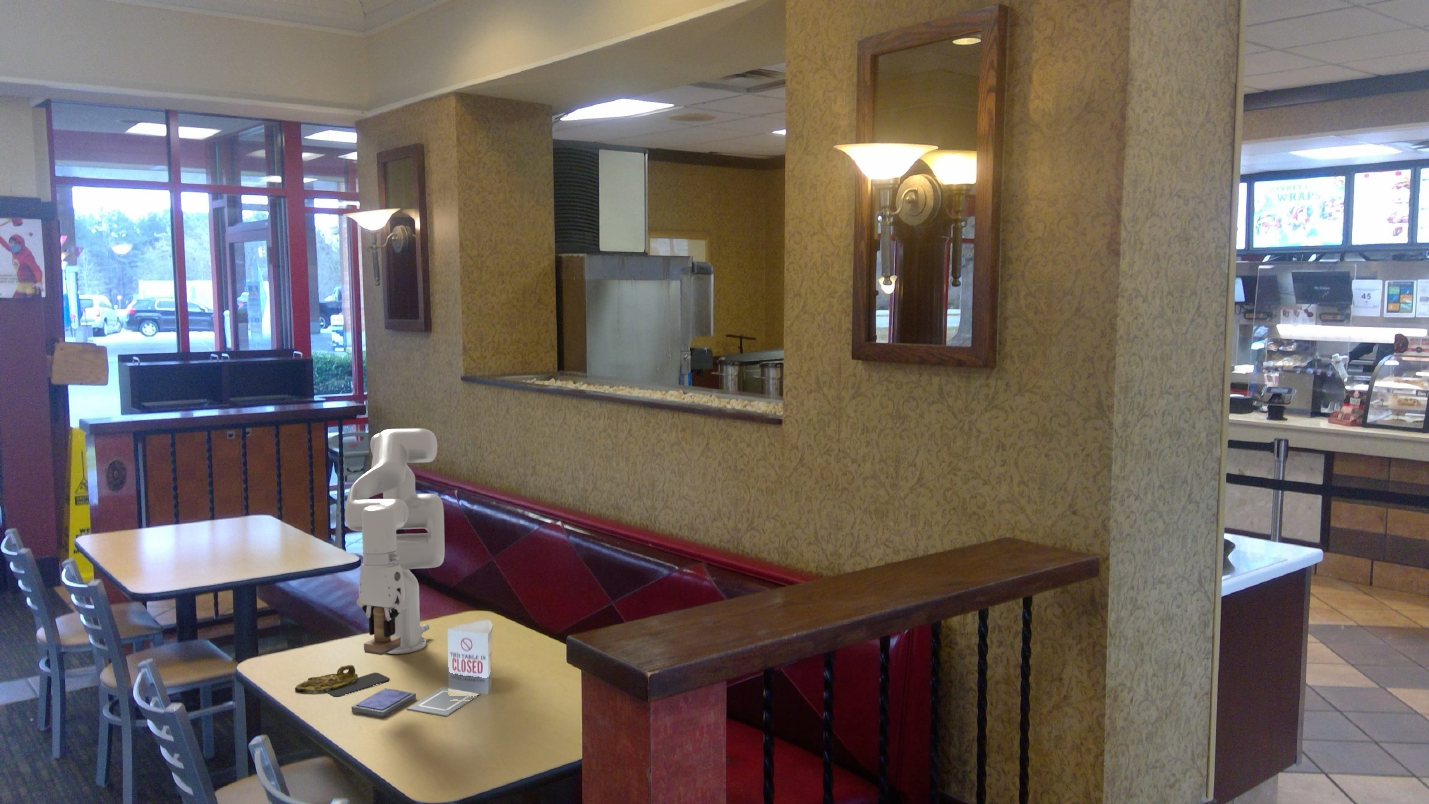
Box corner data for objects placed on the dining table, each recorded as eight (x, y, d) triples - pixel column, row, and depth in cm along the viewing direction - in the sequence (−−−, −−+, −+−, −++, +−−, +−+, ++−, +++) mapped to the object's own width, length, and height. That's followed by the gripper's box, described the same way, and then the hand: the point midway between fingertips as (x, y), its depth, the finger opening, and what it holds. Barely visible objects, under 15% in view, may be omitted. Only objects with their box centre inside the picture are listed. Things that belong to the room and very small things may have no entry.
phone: (320, 689, 248) (376, 671, 259) (320, 692, 248) (376, 674, 260) (335, 697, 243) (391, 678, 255) (336, 700, 243) (391, 682, 255)
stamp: (383, 643, 242) (382, 597, 241) (401, 645, 240) (399, 599, 239) (364, 652, 235) (362, 605, 234) (381, 655, 233) (380, 607, 232)
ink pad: (385, 693, 246) (385, 687, 246) (416, 698, 243) (415, 692, 243) (351, 712, 235) (351, 705, 235) (383, 718, 232) (383, 711, 231)
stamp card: (443, 688, 250) (443, 686, 249) (481, 694, 246) (480, 692, 246) (407, 709, 236) (407, 708, 236) (446, 716, 233) (446, 715, 233)
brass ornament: (300, 703, 243) (363, 688, 252) (300, 685, 242) (363, 670, 251) (290, 687, 251) (351, 673, 260) (290, 669, 250) (351, 656, 259)
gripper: (419, 557, 236) (421, 633, 238) (362, 551, 242) (364, 625, 244) (398, 565, 229) (401, 643, 231) (340, 558, 235) (342, 635, 237)
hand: (382, 633), depth 237 cm, fingers closed on stamp, 3 cm apart
